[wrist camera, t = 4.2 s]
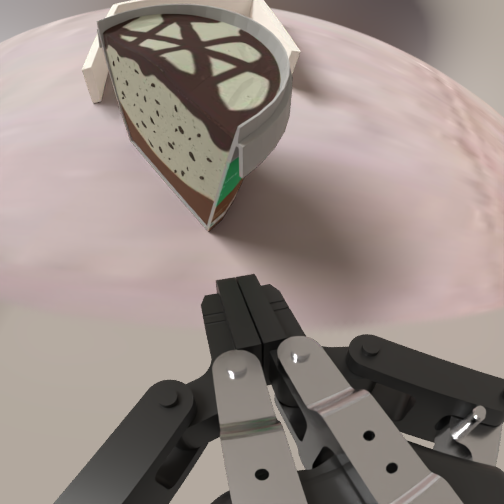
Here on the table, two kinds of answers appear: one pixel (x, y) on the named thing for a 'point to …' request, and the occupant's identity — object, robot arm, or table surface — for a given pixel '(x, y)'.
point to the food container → (198, 96)
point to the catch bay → (245, 3)
